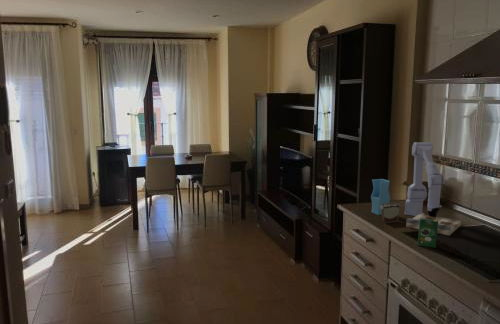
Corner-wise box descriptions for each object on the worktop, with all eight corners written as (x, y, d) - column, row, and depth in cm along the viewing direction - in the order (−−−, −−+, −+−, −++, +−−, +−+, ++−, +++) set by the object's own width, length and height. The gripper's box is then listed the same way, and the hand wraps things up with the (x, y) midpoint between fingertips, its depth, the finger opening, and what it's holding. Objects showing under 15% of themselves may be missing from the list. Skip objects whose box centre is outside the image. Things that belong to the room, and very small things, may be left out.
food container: (392, 218, 243) (393, 201, 241) (399, 221, 237) (400, 204, 235) (374, 220, 238) (375, 203, 237) (381, 223, 233) (382, 206, 231)
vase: (370, 211, 256) (371, 179, 253) (380, 210, 259) (382, 178, 256) (378, 215, 249) (380, 182, 246) (389, 213, 252) (391, 181, 249)
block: (425, 224, 223) (425, 217, 222) (427, 222, 226) (427, 215, 225) (432, 226, 220) (433, 218, 220) (435, 224, 223) (435, 216, 223)
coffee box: (436, 246, 198) (438, 219, 196) (436, 248, 195) (438, 221, 193) (417, 244, 201) (419, 217, 199) (417, 246, 198) (419, 219, 196)
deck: (406, 226, 227) (406, 218, 226) (419, 217, 244) (420, 210, 243) (449, 235, 213) (450, 227, 212) (460, 225, 230) (461, 217, 229)
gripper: (437, 200, 215) (436, 225, 218) (445, 195, 226) (444, 219, 229) (423, 198, 220) (422, 223, 222) (432, 193, 231) (430, 217, 233)
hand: (432, 221), depth 226 cm, fingers closed
